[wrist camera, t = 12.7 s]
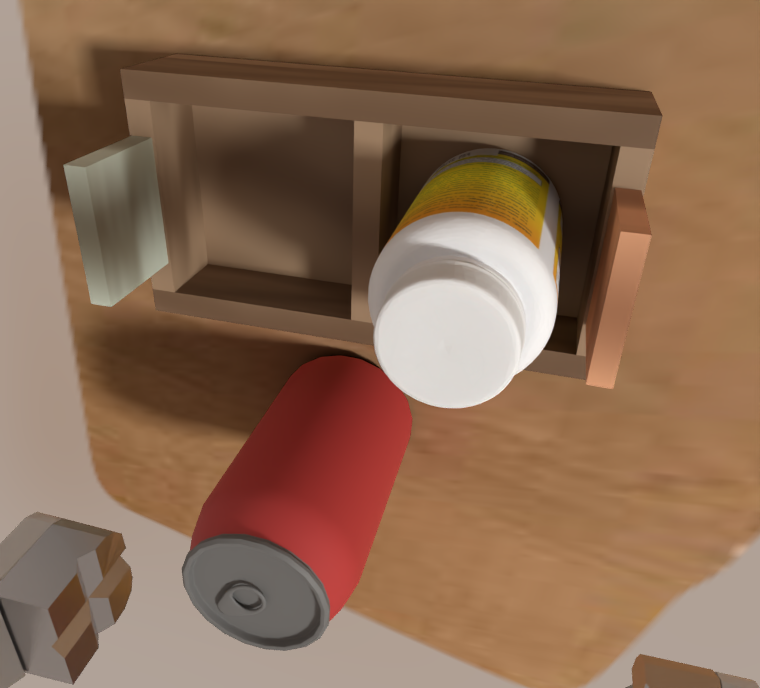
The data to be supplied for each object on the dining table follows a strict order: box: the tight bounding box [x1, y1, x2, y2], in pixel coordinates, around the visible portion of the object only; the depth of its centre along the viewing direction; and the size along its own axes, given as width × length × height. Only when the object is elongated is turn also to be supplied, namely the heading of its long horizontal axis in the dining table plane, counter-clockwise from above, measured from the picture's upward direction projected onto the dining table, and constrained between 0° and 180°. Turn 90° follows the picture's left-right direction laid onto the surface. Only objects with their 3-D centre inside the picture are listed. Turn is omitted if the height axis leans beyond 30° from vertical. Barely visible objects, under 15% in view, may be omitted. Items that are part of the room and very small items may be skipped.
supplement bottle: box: [368, 148, 563, 408], centre depth 22 cm, size 6×6×10 cm
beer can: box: [182, 355, 412, 651], centre depth 29 cm, size 7×7×12 cm
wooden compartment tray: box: [63, 54, 662, 389], centre depth 25 cm, size 10×18×8 cm, turn 88°
